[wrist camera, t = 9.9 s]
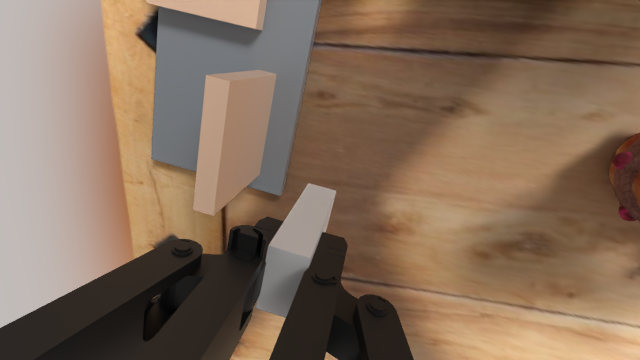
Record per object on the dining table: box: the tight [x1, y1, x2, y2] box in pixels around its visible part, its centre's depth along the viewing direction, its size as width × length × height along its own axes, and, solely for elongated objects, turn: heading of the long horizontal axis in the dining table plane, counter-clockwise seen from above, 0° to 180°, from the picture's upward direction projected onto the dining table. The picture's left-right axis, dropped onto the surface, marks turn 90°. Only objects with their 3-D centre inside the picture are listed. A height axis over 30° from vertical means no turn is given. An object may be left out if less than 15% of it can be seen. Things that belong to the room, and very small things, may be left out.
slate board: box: [151, 0, 322, 196], centre depth 29 cm, size 24×13×1 cm, turn 167°
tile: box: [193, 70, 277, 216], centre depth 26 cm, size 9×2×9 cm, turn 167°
